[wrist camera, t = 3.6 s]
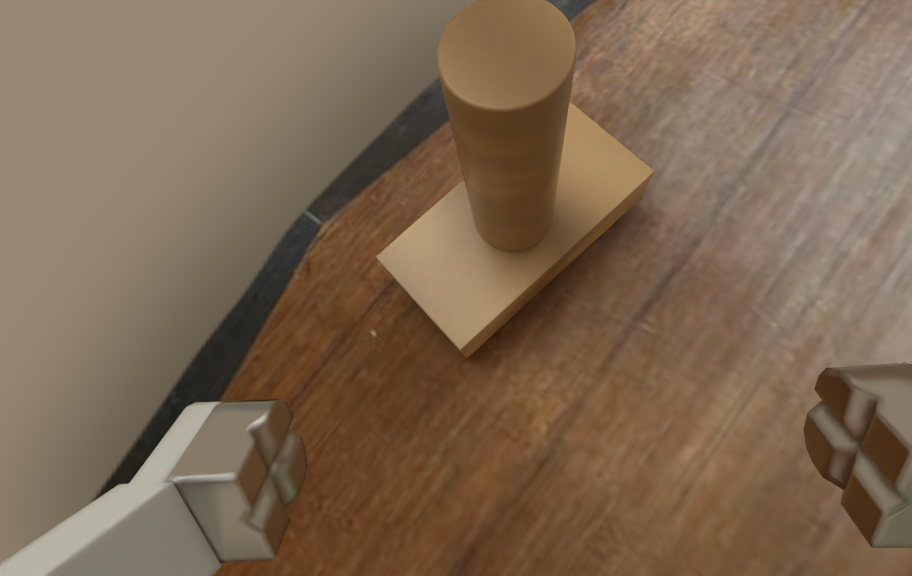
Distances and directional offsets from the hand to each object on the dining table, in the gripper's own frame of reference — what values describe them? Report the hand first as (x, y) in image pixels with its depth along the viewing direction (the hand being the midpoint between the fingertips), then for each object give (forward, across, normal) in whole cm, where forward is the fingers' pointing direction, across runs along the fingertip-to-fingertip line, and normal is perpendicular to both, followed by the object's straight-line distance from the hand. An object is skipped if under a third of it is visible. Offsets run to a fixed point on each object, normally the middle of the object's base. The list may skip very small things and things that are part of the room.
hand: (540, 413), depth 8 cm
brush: (+14, 0, +4) cm, 15 cm away
